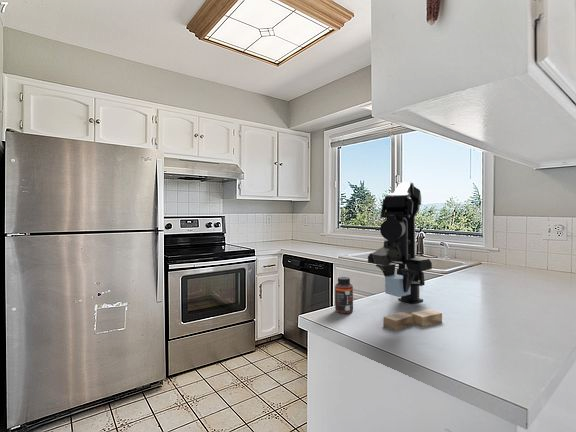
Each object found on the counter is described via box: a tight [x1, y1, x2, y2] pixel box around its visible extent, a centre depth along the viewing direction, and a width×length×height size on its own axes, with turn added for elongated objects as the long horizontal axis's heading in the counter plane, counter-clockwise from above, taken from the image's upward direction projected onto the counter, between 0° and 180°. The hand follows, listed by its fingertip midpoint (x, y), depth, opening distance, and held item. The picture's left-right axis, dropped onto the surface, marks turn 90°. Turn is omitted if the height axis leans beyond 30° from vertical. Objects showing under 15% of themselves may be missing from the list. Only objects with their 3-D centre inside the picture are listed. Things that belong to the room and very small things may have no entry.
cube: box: [384, 273, 411, 298], centre depth 97 cm, size 5×5×5 cm
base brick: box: [382, 311, 415, 331], centre depth 97 cm, size 8×4×3 cm, turn 123°
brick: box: [410, 308, 443, 328], centre depth 99 cm, size 8×4×3 cm, turn 115°
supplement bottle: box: [334, 276, 354, 314], centre depth 111 cm, size 6×6×11 cm
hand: (398, 290), depth 97 cm, fingers closed on cube, 5 cm apart
